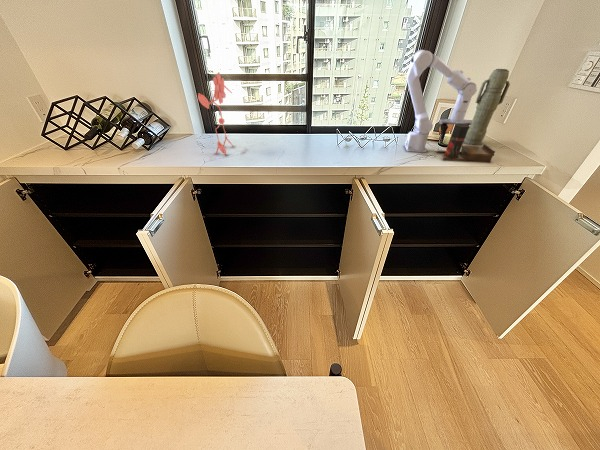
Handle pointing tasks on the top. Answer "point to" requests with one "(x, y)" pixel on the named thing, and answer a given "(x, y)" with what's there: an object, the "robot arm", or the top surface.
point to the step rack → (474, 154)
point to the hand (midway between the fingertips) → (449, 139)
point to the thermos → (487, 105)
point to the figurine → (218, 95)
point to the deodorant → (456, 140)
